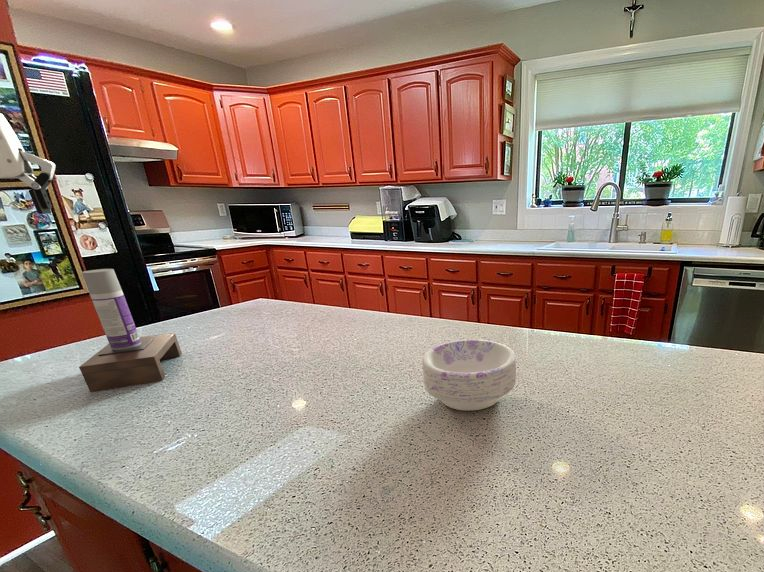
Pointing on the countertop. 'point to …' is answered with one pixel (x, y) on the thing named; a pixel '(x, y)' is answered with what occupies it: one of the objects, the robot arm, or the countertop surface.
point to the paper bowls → (469, 373)
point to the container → (112, 308)
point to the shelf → (130, 363)
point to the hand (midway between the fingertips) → (9, 214)
